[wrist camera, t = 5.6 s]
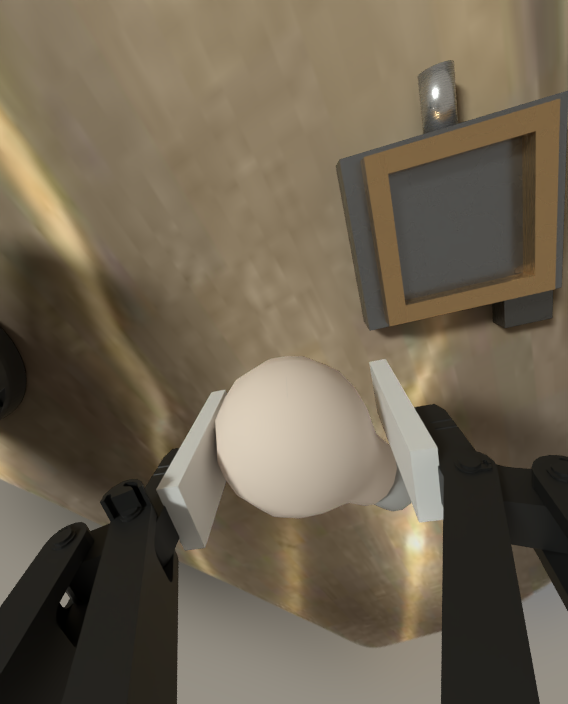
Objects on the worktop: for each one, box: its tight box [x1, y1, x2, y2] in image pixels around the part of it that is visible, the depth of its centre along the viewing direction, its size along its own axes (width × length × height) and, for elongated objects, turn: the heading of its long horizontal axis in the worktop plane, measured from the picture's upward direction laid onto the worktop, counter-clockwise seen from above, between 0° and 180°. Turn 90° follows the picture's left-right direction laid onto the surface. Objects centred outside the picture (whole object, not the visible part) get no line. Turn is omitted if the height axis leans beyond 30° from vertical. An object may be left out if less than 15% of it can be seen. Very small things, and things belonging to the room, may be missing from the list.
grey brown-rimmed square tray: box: [336, 60, 568, 330], centre depth 27 cm, size 16×21×4 cm
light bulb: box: [215, 356, 411, 518], centre depth 15 cm, size 7×7×11 cm
